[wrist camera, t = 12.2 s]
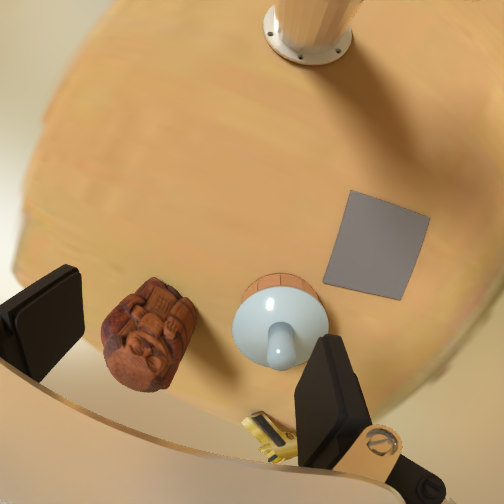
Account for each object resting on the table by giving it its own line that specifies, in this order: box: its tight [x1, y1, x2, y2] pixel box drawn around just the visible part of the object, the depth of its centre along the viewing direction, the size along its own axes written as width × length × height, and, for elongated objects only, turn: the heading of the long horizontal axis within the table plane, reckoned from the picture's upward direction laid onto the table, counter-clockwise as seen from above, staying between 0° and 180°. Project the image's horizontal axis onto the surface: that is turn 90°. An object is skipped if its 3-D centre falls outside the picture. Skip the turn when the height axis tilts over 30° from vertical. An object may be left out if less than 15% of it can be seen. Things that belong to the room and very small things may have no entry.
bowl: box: [241, 273, 319, 303], centre depth 40 cm, size 12×12×6 cm
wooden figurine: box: [101, 277, 196, 392], centre depth 35 cm, size 12×6×18 cm, turn 50°
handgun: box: [241, 411, 298, 464], centre depth 49 cm, size 2×19×12 cm
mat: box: [323, 190, 430, 300], centre depth 39 cm, size 14×14×1 cm
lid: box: [232, 285, 329, 371], centre depth 34 cm, size 13×13×7 cm
